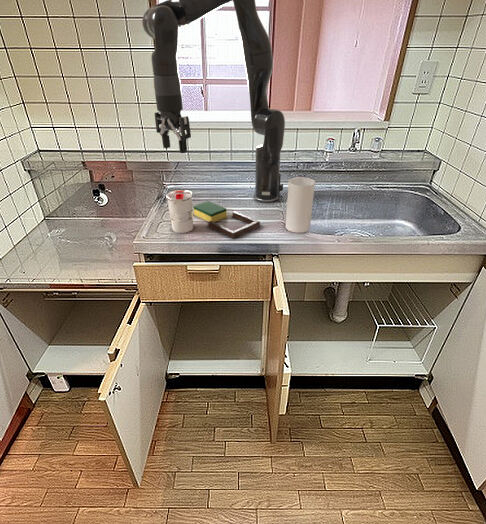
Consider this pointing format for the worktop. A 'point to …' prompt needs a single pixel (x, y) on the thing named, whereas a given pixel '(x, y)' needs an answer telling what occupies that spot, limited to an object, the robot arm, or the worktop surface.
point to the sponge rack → (234, 234)
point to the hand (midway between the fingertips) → (175, 150)
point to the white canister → (180, 210)
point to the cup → (299, 204)
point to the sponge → (210, 211)
